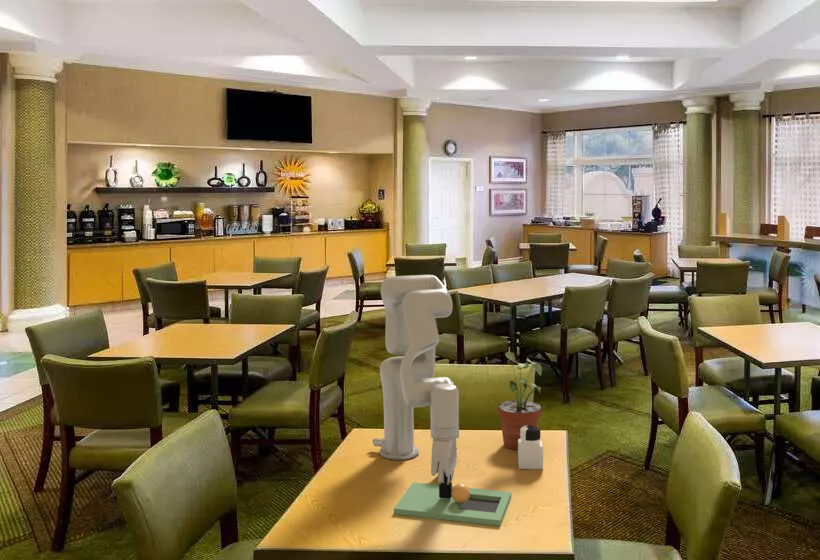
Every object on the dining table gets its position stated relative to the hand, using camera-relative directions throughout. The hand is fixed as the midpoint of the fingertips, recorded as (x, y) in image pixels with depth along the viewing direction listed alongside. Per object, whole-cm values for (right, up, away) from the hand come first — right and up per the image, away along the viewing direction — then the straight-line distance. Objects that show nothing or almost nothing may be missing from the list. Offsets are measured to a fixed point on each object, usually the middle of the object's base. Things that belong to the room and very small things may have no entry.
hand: (445, 497), depth 193 cm
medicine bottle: (+27, +1, +27) cm, 39 cm away
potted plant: (+27, +3, +45) cm, 53 cm away
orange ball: (+4, +2, -2) cm, 5 cm away
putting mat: (+2, -2, 0) cm, 3 cm away
